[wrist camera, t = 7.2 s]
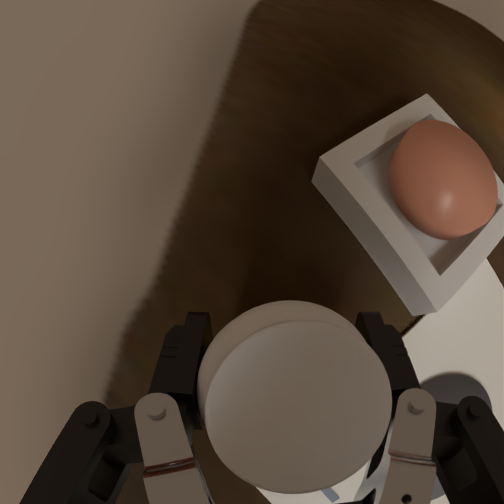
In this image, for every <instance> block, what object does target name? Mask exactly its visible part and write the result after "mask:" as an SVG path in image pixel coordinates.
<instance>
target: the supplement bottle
mask: <svg viewBox="0 0 504 504" xmlns="http://www.w3.org/2000/svg"><path fill="white" fill-rule="evenodd" d="M197 400H198V406H199V411H200V414H201V417H202V420H203V422H204V424H205V426H206V429H207V433H208V436H209V439H210V441H211V444H212V446H213V448H214V450H215V452H216V453H217V455H218V457H219V458H220V459H221V461H222V462H223V463H224V464H225V465H226V466H227V467H228V468H229V470H231V471H232V472H233V473H234V474H235V475H237V476H238V477H240V478H241V479H243V480H244V481H246V482H248V483H250V484H252V485H254V486H256V487H258V488H261V489H264V490H267V491H271V492H276V493H282V494H304V493H311V492H315V491H319V490H323V489H326V488H329V487H332V486H334V485H336V484H338V483H340V482H342V481H344V480H346V479H347V478H349V477H350V476H352V475H353V474H355V473H356V472H357V471H358V470H360V469H361V468H362V467H363V466H364V465H365V464H366V463H367V462H368V461H369V460H370V459H371V457H372V456H373V455H374V453H375V452H376V450H377V449H378V447H379V446H380V445H381V443H382V440H383V438H384V436H385V434H386V431H387V428H388V425H389V422H390V418H391V410H392V392H391V387H390V382H389V378H388V375H387V372H386V370H385V368H384V366H383V364H382V362H381V360H380V359H379V357H378V355H377V354H376V353H375V352H374V350H373V349H372V348H371V347H370V346H369V345H368V344H367V342H366V341H365V339H364V338H363V336H362V335H361V334H360V332H359V331H358V330H357V329H356V328H355V327H354V326H353V325H352V324H351V323H350V322H349V321H348V320H346V319H345V318H344V317H342V316H341V315H339V314H338V313H336V312H334V311H333V310H331V309H328V308H326V307H324V306H321V305H318V304H314V303H310V302H305V301H293V300H287V301H276V302H271V303H267V304H263V305H260V306H257V307H255V308H252V309H250V310H248V311H246V312H244V313H243V314H241V315H240V316H238V317H236V318H235V319H234V320H232V321H231V322H230V323H228V324H227V325H226V326H225V327H224V328H223V329H222V330H221V331H220V332H219V333H218V334H217V335H216V337H215V338H214V339H213V341H212V342H211V344H210V345H209V347H208V349H207V351H206V353H205V355H204V357H203V360H202V362H201V365H200V369H199V373H198V379H197Z"/></svg>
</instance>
